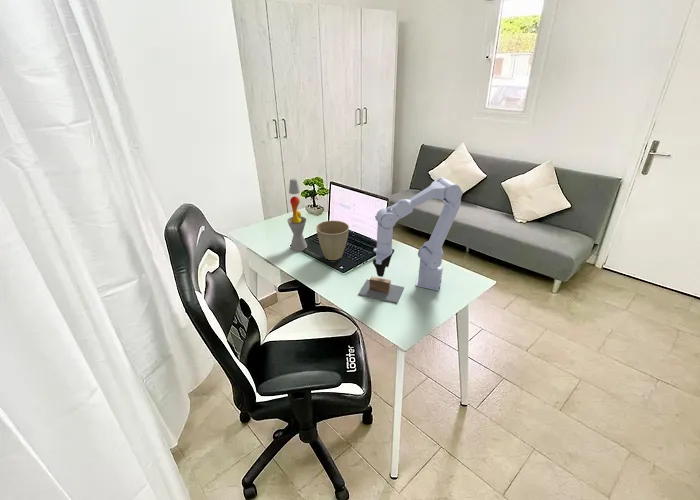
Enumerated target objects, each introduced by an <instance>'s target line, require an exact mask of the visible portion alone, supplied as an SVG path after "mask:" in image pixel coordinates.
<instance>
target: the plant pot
mask: <svg viewBox="0 0 700 500" xmlns="http://www.w3.org/2000/svg"><path fill="white" fill-rule="evenodd" d="M315 227H316V228H315V229H316V235H317V238H318V243H319V246H320V249H321V251H322V253H323V256H324V258H325V260H326V259H328V260H337V259H339V258H342V256H343V254H344V251H345V248H346V245H347V241H348V238H349V233H350V232H349V231H350V226H349V224H348V223H346V222H344V221H340V220H325V221H322V222H319V223H318V224H317V225H316V226H315ZM328 260H327V261H328Z"/></svg>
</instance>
